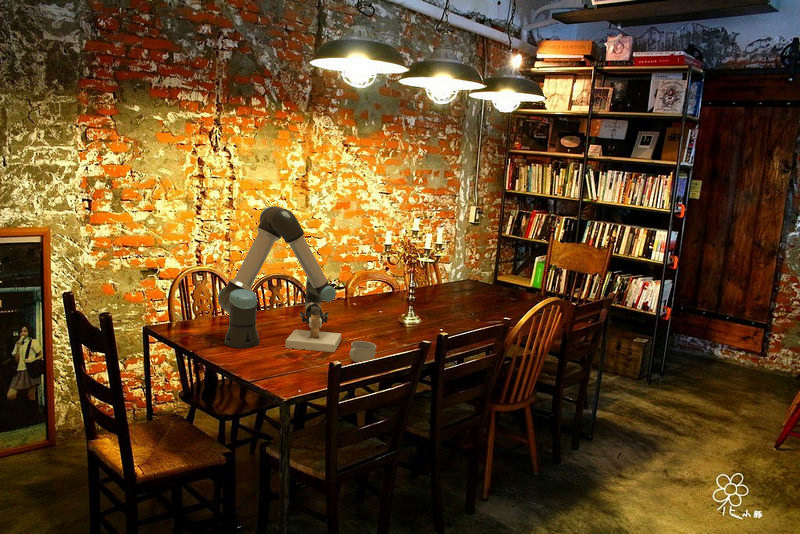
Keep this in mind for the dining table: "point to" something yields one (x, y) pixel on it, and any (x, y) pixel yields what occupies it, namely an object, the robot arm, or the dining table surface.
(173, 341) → the dining table surface
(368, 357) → the teacup
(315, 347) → the beige socket block
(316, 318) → the plug
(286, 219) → the robot arm
